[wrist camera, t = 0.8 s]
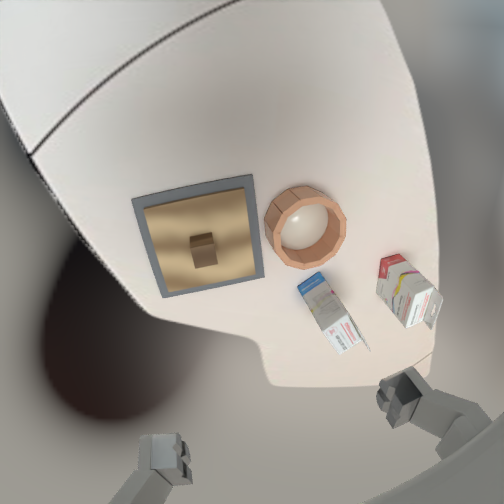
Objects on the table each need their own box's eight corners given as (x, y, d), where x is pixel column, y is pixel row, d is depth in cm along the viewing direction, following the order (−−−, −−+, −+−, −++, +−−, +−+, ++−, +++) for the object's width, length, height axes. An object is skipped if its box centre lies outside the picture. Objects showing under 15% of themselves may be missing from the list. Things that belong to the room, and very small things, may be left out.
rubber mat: (131, 199, 37) (131, 200, 37) (251, 174, 39) (252, 175, 39) (162, 296, 46) (162, 298, 45) (263, 275, 48) (264, 277, 47)
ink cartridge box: (379, 258, 52) (425, 304, 39) (399, 253, 52) (446, 295, 40) (374, 293, 56) (413, 340, 43) (393, 287, 57) (433, 331, 44)
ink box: (295, 286, 50) (328, 346, 38) (319, 270, 50) (358, 326, 37) (314, 313, 55) (346, 369, 42) (336, 298, 54) (372, 352, 41)
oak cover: (144, 207, 38) (139, 219, 34) (243, 187, 40) (249, 196, 36) (168, 289, 45) (168, 306, 41) (254, 271, 47) (260, 287, 43)
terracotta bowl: (261, 193, 41) (270, 204, 37) (330, 182, 42) (346, 192, 38) (268, 258, 46) (276, 275, 42) (331, 245, 48) (344, 259, 44)
